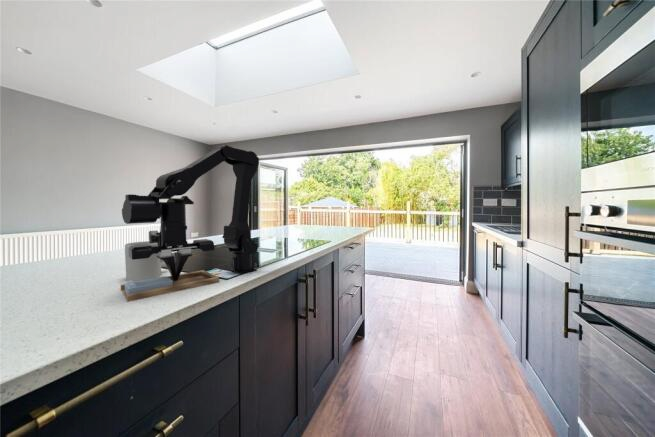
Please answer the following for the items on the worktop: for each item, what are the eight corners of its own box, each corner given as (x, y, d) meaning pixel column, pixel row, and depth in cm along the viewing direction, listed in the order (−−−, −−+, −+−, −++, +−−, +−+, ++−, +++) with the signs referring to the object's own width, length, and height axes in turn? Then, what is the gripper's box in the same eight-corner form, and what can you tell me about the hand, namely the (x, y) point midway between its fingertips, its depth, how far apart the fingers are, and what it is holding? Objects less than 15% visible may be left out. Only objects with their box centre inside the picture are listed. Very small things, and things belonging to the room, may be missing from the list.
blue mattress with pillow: (166, 283, 70) (166, 274, 70) (172, 288, 65) (172, 278, 65) (124, 291, 63) (124, 281, 63) (128, 297, 59) (127, 286, 59)
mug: (139, 285, 71) (137, 245, 70) (119, 282, 74) (117, 244, 73) (178, 274, 82) (176, 240, 81) (159, 272, 85) (158, 239, 84)
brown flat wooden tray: (203, 276, 79) (203, 270, 79) (219, 284, 71) (219, 277, 71) (120, 292, 65) (120, 284, 65) (127, 305, 57) (127, 296, 57)
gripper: (200, 219, 80) (201, 269, 81) (124, 222, 67) (126, 281, 68) (214, 220, 72) (215, 276, 73) (131, 224, 59) (133, 291, 60)
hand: (175, 280), depth 68 cm, fingers closed
